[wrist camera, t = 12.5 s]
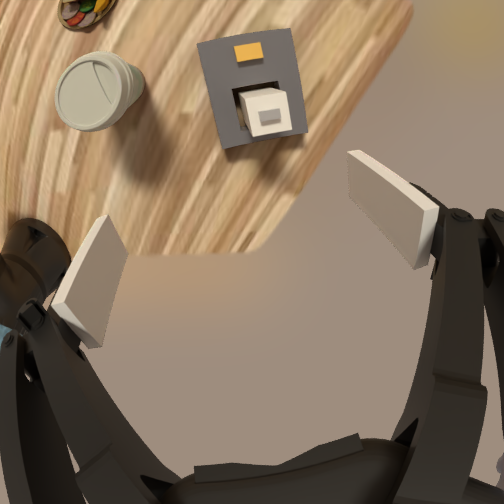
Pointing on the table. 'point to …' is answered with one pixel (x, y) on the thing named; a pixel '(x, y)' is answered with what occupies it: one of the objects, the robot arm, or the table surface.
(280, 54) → the grey charger dock
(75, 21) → the toy sandwich meal
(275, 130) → the block
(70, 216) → the table surface
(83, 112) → the coffee cup
